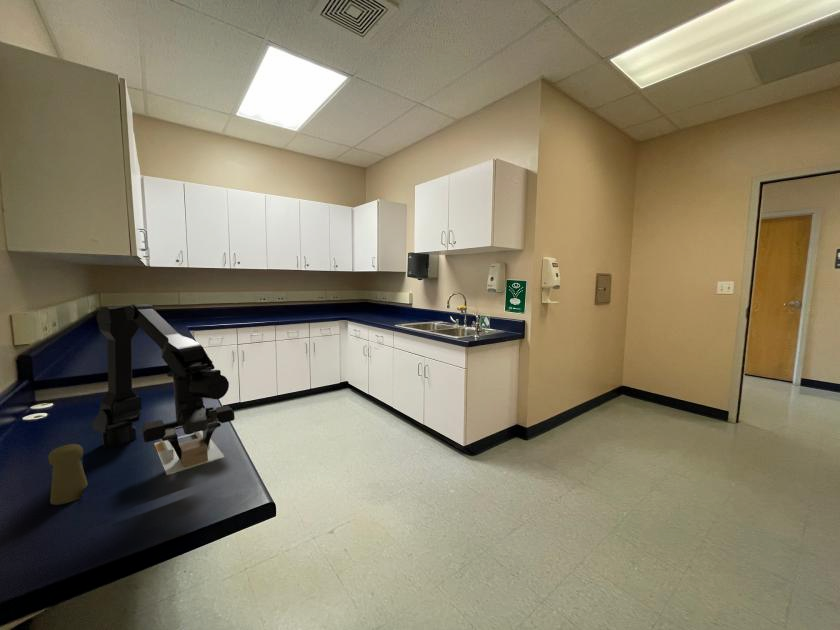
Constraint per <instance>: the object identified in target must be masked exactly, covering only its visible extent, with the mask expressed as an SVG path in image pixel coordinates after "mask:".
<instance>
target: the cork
mask: <svg viewBox="0 0 840 630" xmlns="http://www.w3.org/2000/svg"><path fill="white" fill-rule="evenodd" d="M83 455H84V449H83V446H82V445H80V444H77V443H71V444H66V445H65V444H64V445H61V446H59V447H56V448H54V449H52V450H51V451H50V452H49V454H48V457H47V458H48V459H47V460H48V463H49V465H51V466H52V475H51V485H50V486H51V487H50V500H49V503H50V504H51V505H56V506H58V505H65V504H68V503H72V502H74V501H77V500H79V499H81V498H83V493H84V492H83V490H84V489H85V488H87V487H88V485H89V483H88V480H87V477H86V474H85V471H84V466H83V464H82V460H81V458H82V456H83Z"/></svg>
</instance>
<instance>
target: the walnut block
mask: <svg viewBox="0 0 840 630" xmlns="http://www.w3.org/2000/svg"><path fill="white" fill-rule="evenodd" d="M179 447H180V451H181V459H180V461H181V463H182V465H183V467H184V468H186V467H189V466H192V465H195V464H198V463H201V462H205V461H208V453H207V444H206V443H205V442H204V440H203V439H202V438H197V437H196V438H194V439H190V440H187V441H183V442H179Z"/></svg>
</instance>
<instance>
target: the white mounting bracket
mask: <svg viewBox="0 0 840 630" xmlns="http://www.w3.org/2000/svg"><path fill="white" fill-rule="evenodd" d="M194 435H195V436H196V439H197V438H202V439H203V431H198V432H194V433H192V434H185V435H181V436H178V439H183V438H186V437H189V436H194ZM153 444H154V447H155V449H156V452H157V454H158V456H159V459H160V462H161V465H162V466H163V469H164V471H165V474H166V476H169V475H172V474H175V473H178V472H182V471H185V470H188V469H192V468H195V467H197V466H200V465H204V464H207V463H210V462H213V461H216V460H219V459H223V458H225V455H224V454H223V453H222V451H221V450H220V448H219V447H217V446H218V445H216V443H215V442H214V441H213V440H212V439H210V442H209V445H208V448H207V453H208V461H205V462H201V463H198V464H195V465H192V466H189V467H186V468H184V467H183V465H182V463H181V461H180V459H179V458H178V456H177V454H176V452H175V450H174V448H173V446H172V445H171V444H170V442H169V441H168V440H166V441H162V439H160V441H157V442H155V443H153Z"/></svg>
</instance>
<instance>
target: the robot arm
mask: <svg viewBox="0 0 840 630" xmlns="http://www.w3.org/2000/svg"><path fill="white" fill-rule="evenodd" d="M95 318H96V322H97V325H98V331H99V332H100V333H102V335H103V336H104V337H105V338H106V339H107V341H106V342H107V387H108V388H107V389H108V390H107V392H106V394H105V395H104V397H103V398H102V400H101V401H100V405H99V411H98V413H97V414H96V416H95V418H94V419H93V420H92V422H91V424H92V428H93V431H95V432H99V433H102V441H103V442H102V443H103V448H104V449H106V448H114V447H119V446H124V445H125V444H129V443H130V442H133V441H136V440H137V431H136V427H135V425H133V423H137V422H139V421H140V418H141V414H142V413H141V412H142V410H143V407H142V399H143V398H142V397H141V396H140V395H138V394H137V393H136V392H135V391H134V390H133V343H132V342H133V338H134V336H135V335H136V334H137V332H138V331H139V330H140V329H141V330H143V332H144V333H145V334H146V335H147V336H148V337H149V338H150V339H151V340H152V341H153V342H154V343H155V344H156V345H157V346H158V347H159V349H161V358H162V359H163V361H164V362H165V363H166V365H167V367H169V368H170V369H171V370H170V371H169V372H168V373H167V374H166V376H167V377H170V378H172V383H173V392H174V393H173V395H174V408H175V421H170V422H166V423H164V421H163V420H162V419H159V420H155V421H150V422H147V423H143V425H141V436H142V439H143V442H144V443H149V442H154V441H158V440H161V439H162V441H166V440H168V441H169V442H170V444H171V446H172V448H174V450H175V452H176V454H177V456H178V458H179V459H181V451H180V447H179V443H180V442H179V438H178V437H179V436H178V434H177V432H176V430H179V429H182V430H183V433H184V434H185V435H188V434H192V433H194V432H198V431H203V440H204V442H205V443H206V444H207V448H208V445H209V442H210V439H211V438H212V436H213V434H214V431H215V430H216V429H217V428H220V427H221V426H222V424H225V423H229V422H233V421H235V419H236V418H235V417H236V416H235V410H233V408H232V407H230V406H229V405H227V404H226V405H221V406H218V407H216V406H210V407H209V406H208V407H205V405H204V399H210V400H220V399H222V398H224V396H226V394H227V393H228V392H229V391H228V390H229V387H230V382H229V380H228V378H227V377H226V376H224V375H223V374H221V372H222V371H221V370H220V369H215V364H213V361H212V360H211V358H210V356H209V355H208V354H207V351H206V350H205V348H204V347H203V346H202V344H200V343H199V342H197V341H196V340H194V339H193V338H190V337H187V336H184V335H182V334H180V333H179V332H177V330H175V329H174V328H173V326H171V325H170V324H169V323H168V322H167V321H166V320H165V319H164V318H163V317H162V316H161V315H160V314H159V313H158V312H157V311H156V309H155V306H154V305H152V304H149V303H136V304H130V305H119V306H105V307H104V306H103V307H102V308H101V309H100V310H99V311H98V312H97V313H96V317H95ZM203 398H204V399H203ZM211 440H212V439H211Z"/></svg>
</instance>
